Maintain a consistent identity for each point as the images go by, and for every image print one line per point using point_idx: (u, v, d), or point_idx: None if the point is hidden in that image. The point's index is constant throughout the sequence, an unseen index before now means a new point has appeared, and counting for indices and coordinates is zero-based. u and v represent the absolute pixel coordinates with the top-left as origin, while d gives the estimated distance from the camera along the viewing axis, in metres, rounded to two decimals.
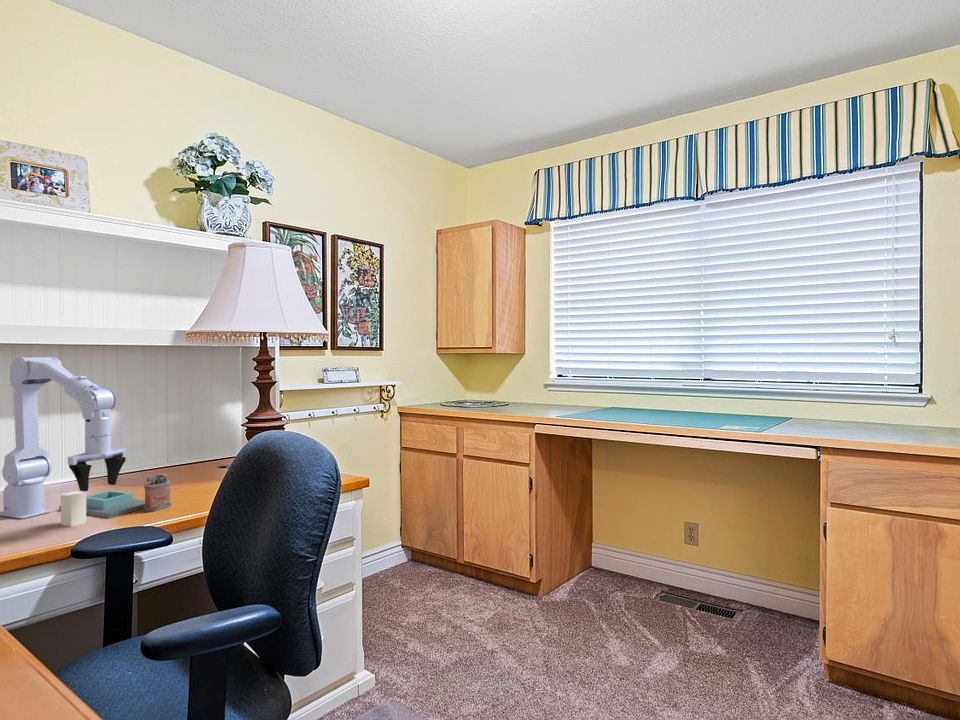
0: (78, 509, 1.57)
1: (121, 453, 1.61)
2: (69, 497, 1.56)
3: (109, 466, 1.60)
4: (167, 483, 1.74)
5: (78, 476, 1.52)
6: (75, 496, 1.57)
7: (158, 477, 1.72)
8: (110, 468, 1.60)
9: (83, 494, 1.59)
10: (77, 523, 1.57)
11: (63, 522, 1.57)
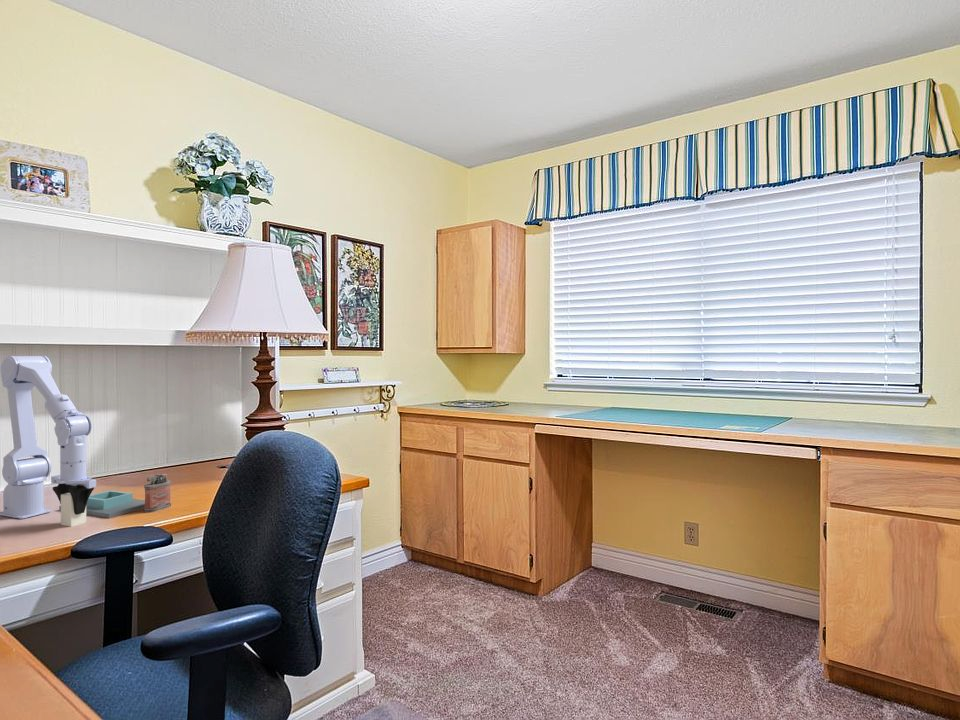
0: None
1: None
2: (69, 497, 1.56)
3: None
4: (167, 483, 1.74)
5: None
6: None
7: (158, 477, 1.72)
8: None
9: None
10: (77, 523, 1.57)
11: (63, 522, 1.57)
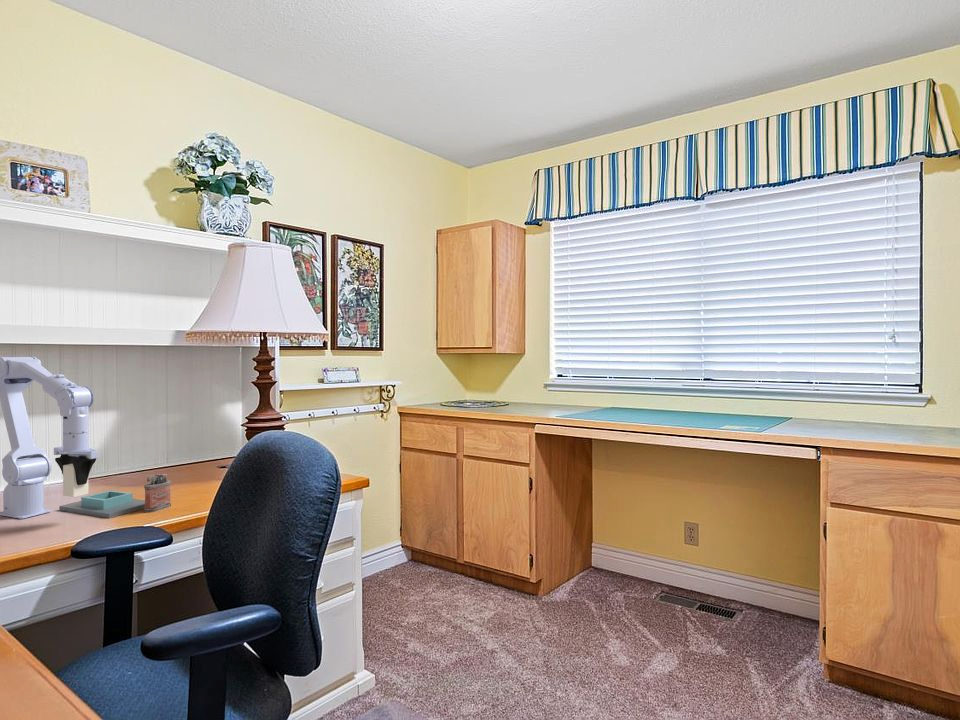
0: None
1: None
2: (71, 468, 1.57)
3: None
4: (167, 483, 1.74)
5: None
6: None
7: (158, 477, 1.72)
8: None
9: None
10: (79, 494, 1.58)
11: (66, 493, 1.58)
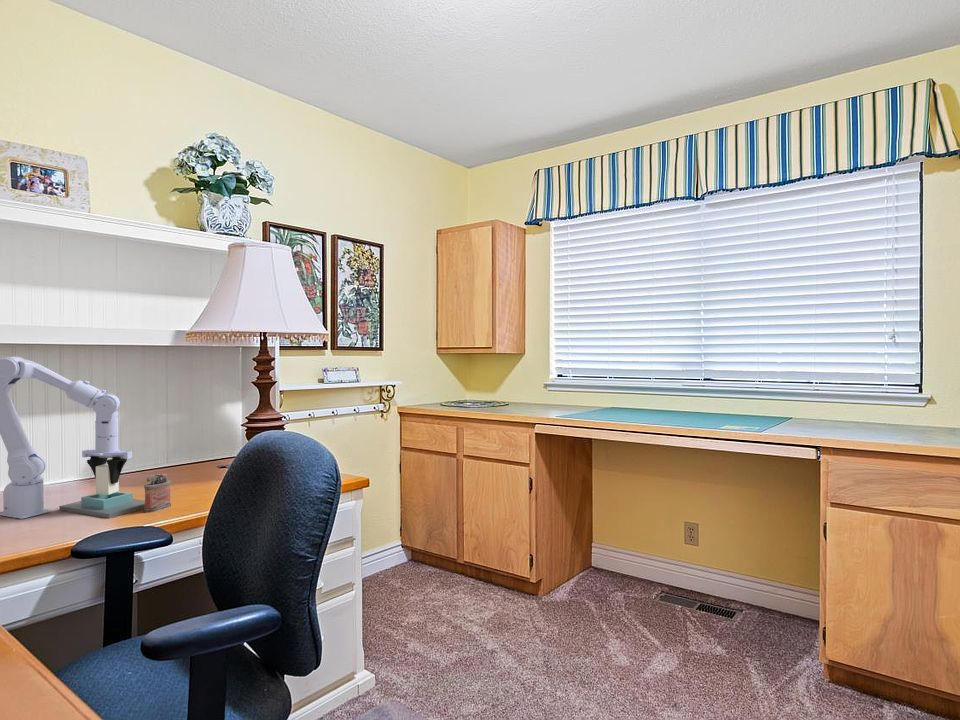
0: None
1: None
2: (106, 468, 1.71)
3: None
4: (167, 483, 1.74)
5: None
6: None
7: (158, 477, 1.72)
8: None
9: None
10: (112, 492, 1.73)
11: (99, 491, 1.72)
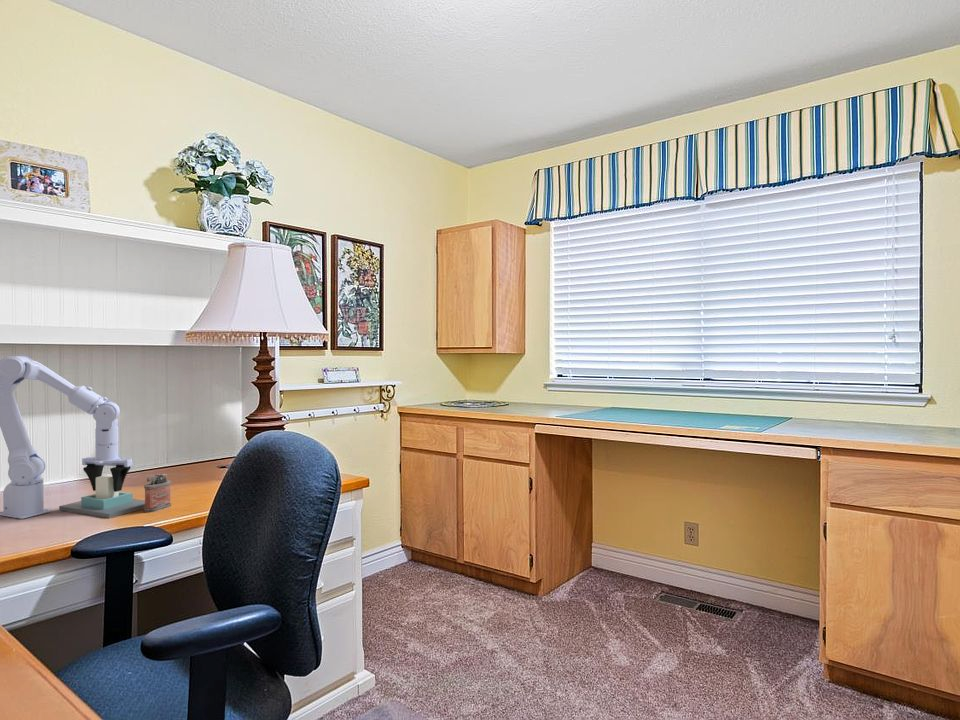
0: (113, 490, 1.73)
1: None
2: (106, 479, 1.71)
3: None
4: (167, 483, 1.74)
5: None
6: (111, 478, 1.72)
7: (158, 477, 1.72)
8: None
9: None
10: None
11: None
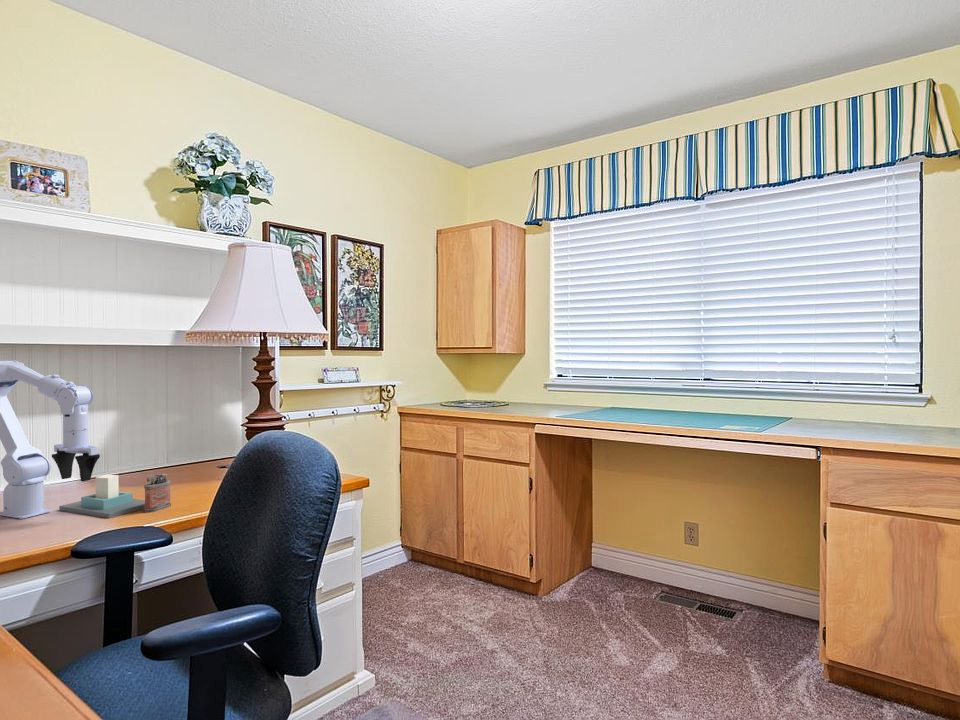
0: (113, 490, 1.73)
1: None
2: (106, 479, 1.71)
3: None
4: (167, 483, 1.74)
5: None
6: (111, 478, 1.72)
7: (158, 477, 1.72)
8: None
9: (116, 476, 1.74)
10: None
11: None
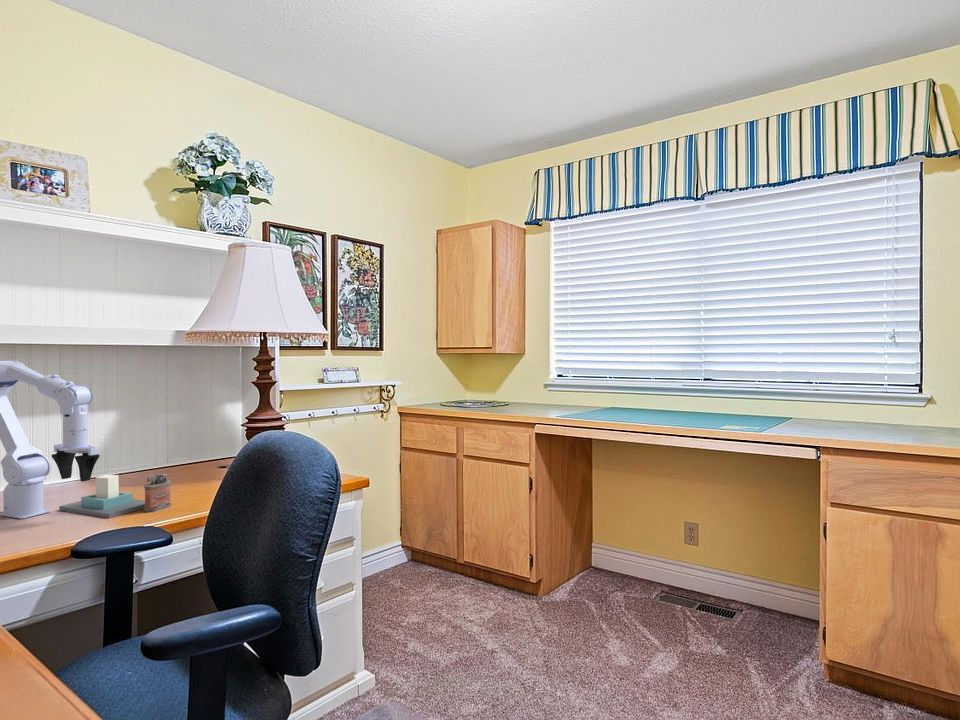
0: (113, 490, 1.73)
1: None
2: (106, 479, 1.71)
3: None
4: (167, 483, 1.74)
5: None
6: (111, 478, 1.72)
7: (158, 477, 1.72)
8: None
9: (116, 476, 1.74)
10: None
11: None
